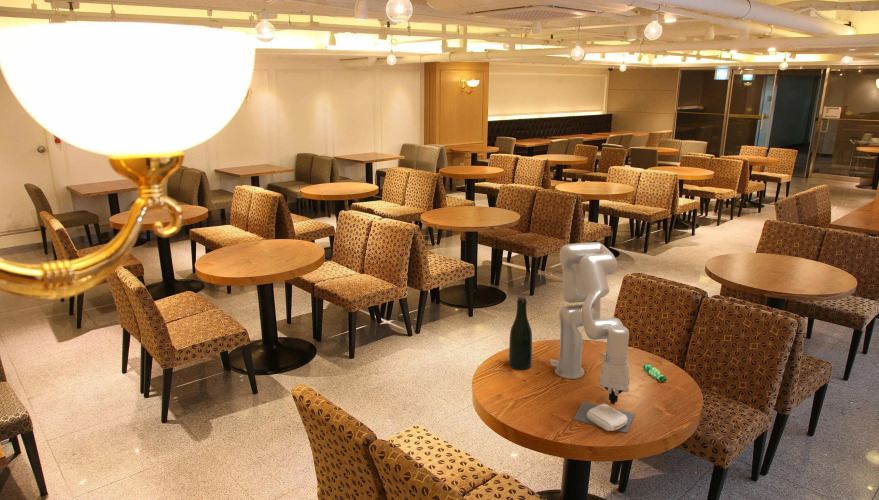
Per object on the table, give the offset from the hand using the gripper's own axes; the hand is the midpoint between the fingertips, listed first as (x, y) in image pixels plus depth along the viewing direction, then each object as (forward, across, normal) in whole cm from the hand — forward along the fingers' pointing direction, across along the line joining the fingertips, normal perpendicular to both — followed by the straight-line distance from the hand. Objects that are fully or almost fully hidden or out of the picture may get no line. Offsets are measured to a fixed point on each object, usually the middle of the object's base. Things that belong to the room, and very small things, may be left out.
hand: (613, 402), depth 222 cm
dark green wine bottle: (+7, -47, +26) cm, 54 cm away
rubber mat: (+7, -3, 0) cm, 8 cm away
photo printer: (+5, -6, -1) cm, 8 cm away
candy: (+8, +8, +43) cm, 44 cm away
